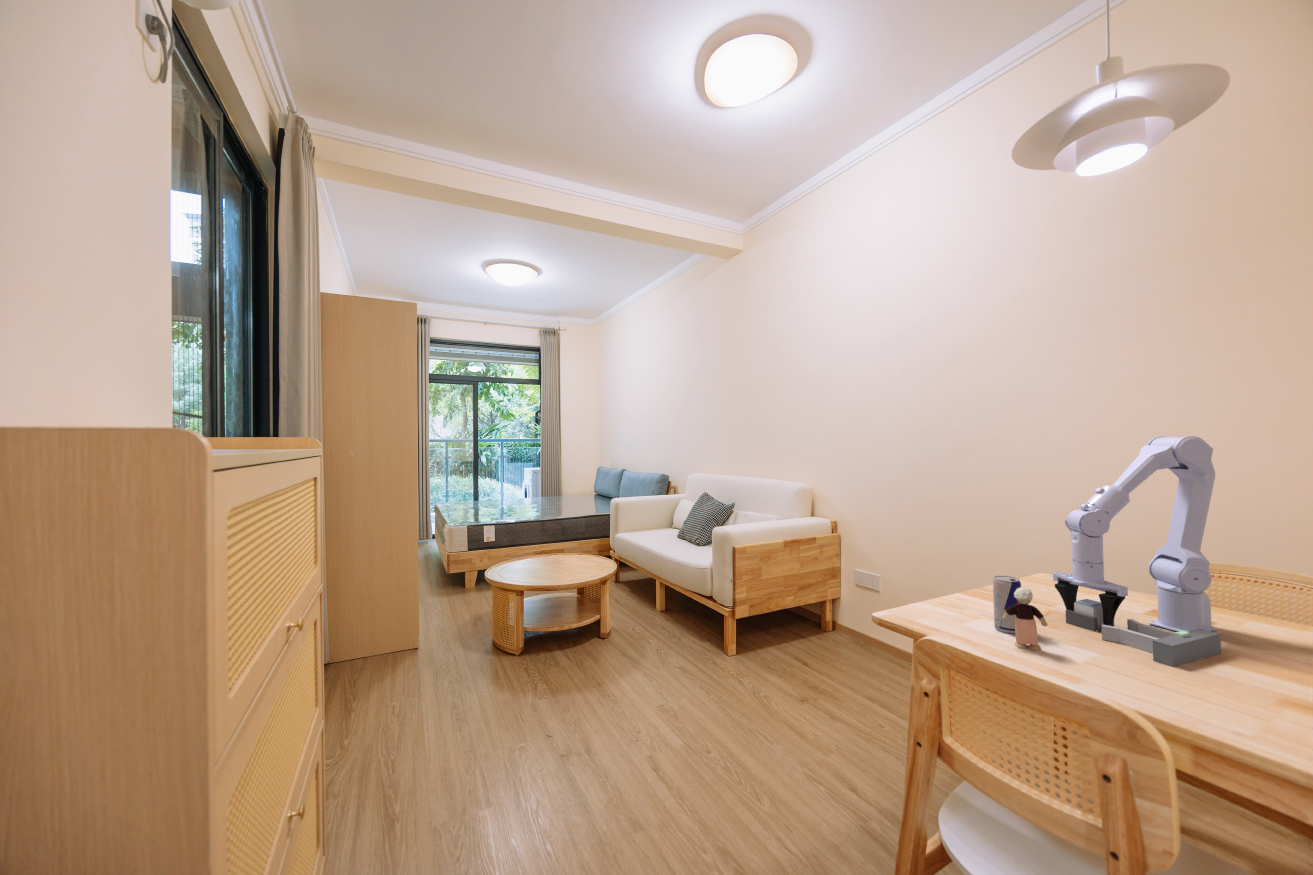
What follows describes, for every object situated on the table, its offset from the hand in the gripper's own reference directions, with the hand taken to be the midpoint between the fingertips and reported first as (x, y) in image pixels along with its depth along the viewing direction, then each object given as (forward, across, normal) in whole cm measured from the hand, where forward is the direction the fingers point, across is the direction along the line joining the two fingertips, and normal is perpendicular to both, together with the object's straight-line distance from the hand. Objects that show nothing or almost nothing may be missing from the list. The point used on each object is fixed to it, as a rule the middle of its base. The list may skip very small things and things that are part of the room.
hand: (1089, 618), depth 120 cm
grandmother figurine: (+2, +3, -26) cm, 26 cm away
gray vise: (+1, 0, +3) cm, 3 cm away
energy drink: (+2, -5, -20) cm, 21 cm away
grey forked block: (+2, +13, -2) cm, 13 cm away
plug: (+2, 0, 0) cm, 2 cm away
